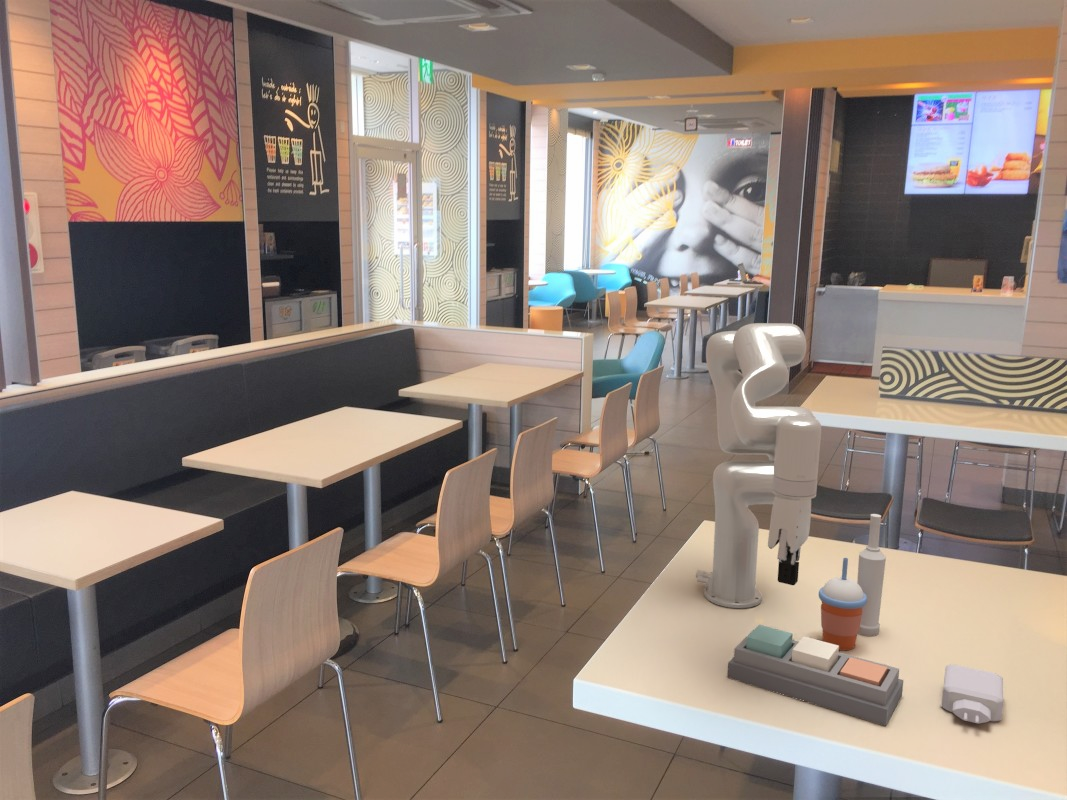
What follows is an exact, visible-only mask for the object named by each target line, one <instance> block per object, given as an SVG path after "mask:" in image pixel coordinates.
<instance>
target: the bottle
mask: <svg viewBox="0 0 1067 800" xmlns="http://www.w3.org/2000/svg"><path fill="white" fill-rule="evenodd" d="M869 519H870V520H869V530H868V531H869V532H868V544H867V545H866V547H865V549H863V550H862V551H859V553H858V564H857V565H858V568H857V569H858V570H857V581H856V583H857V584H858V585H859V586H860V587H861V589H862V591H863V593H864V594H865V595H866V597H867V603H866V605H865V606H863V607H862V611H863V613H862V618H861V623H860V629H859V633H858V634H857V635H861V636H865V637H866V636H867V637H874V636H877V635H879V631H880V628H881V627H880V626H881V624H880V612H881V605H882V604H881V603H882V595H883V587H884V580H885V579H884V577H885V576H884V575H885V570H886V560H887V556H886V555H885V554H884V553H883V552H882V551H881V547H879V544H880V531H881V524H882V523H881V521H882V515H880V514H878V513H870V518H869Z"/></svg>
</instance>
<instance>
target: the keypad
mask: <svg viewBox="0 0 1067 800" xmlns="http://www.w3.org/2000/svg"><path fill="white" fill-rule="evenodd" d="M798 643H799V641H798V640H796V639H795V640H794V639H792V648H791V649H790V650H789V651H788V652H787V654H786V655H785V656H784V657H783V658H782V659H781V658H777V657H774V656H770V655H767V654H763V653H759V652H756V651H752V650H749V649H746V645H747V636H745V637H744V638H743V640H741V641H740V643H739V644H737V645H736V646H735V648H734V649H733V650H734V651H733V652H734V653H733V656H732V658H731V659H730V660H729V661H728V662H727V672H726V674H727V676H726V678H727V677H728V678H727V679H731V680H733V679H734V681H737V682H741V683H743V682H744V683H743V684H747V685H751V686H753V687H755V688H760V689H764V690H766V689H767V690H766V691H769V690H770V691H769V692H773V691H774V693H776V692H778V693H777V694H779V693H781V694H780V695H782V694H784V695H783V696H786V695H787V697H789V696H790V697H789V698H792V697H794V698H793V699H795V698H797V699H796V700H799V699H801V700H800V701H802V700H804V701H803V702H805V701H807V702H806V703H808V702H809V703H808V704H811V705H815V704H816V705H815V706H818V705H819V707H821V706H823V707H822V708H825V707H826V708H825V709H828V708H829V709H828V710H831V709H833V710H832V711H835V710H836V712H838V711H839V712H838V713H841V712H842V713H841V714H844V713H845V715H848V716H850V717H854V718H857V717H858V718H857V719H862V720H864V721H867V720H868V722H870V721H871V723H875V724H877V725H881V726H884V727H886V726H887V724H888V723H889V720H890V718H891V717H892V715H893V713H894V711H895V710H896V708H897V706H898V705H899V702H900V700H901V699H902V696H903V691H904V689H903V688H904V679H900V678H899V677H900V676H899V675H900V668H899V667H894V666H891V665H887V664H885V663H880V662H876V661H872V660H869V659H865V658H861V657H858V656H853V655H850V654H846V653H842V652H839V653H838V662H837V663H836V664H835V666H834V667H833V668H832V670H831V671H830V672H826V671H823V670H819V669H816V668H812V667H809V666H805V665H802V664H798V663H795V662H792V650H793V648H794V647H795V646H796V645H797V644H798ZM850 657H852V658H855V659H859V660H863V661H867V662H870V663H874V664H878V665H881V666H885V667H888V668H887V676H886V678H885V680H884V682H883V683H882V685H881V687H879V686H876V685H872V684H869V683H865V682H862V681H858V680H855V679H851V678H848V677H844V676H841V675H840V671H841V670H842V668H843V667H844V665H845V664H846V662H847V661H848V660H849V658H850Z"/></svg>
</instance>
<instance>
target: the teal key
mask: <svg viewBox="0 0 1067 800" xmlns="http://www.w3.org/2000/svg"><path fill="white" fill-rule="evenodd" d="M793 635H794V634H793V633H792V632H789V631H786V630H781V629H778V628H774V627H771V626H766V625H761V624H759V625H758V626H756V627H755V628H754V629H752V631H750V632H749V633H748V634H747V635H746V637H747V645H746V649H749V650H752V651H756V652H759V653H763V654H767V655H770V656H774V657H777V658H781V659H782V658H783V657H784V656H785V655H786V654H787V652H788V651H789V650H790V649H791V648H792V640H793Z"/></svg>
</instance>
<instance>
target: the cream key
mask: <svg viewBox="0 0 1067 800" xmlns="http://www.w3.org/2000/svg"><path fill="white" fill-rule="evenodd" d="M798 642H799V643H798V644H797V645H796V646H795V647H794V648H793V650H792V662H795V663H798V664H802V665H805V666H809V667H812V668H816V669H819V670H823V671H826V672H830V671H831V670H832V668H833V667H834V666H835V664H836V663H837V662H838V653H840V650H839V646H838V645H835V644H831V643H827V642H823V640H819V639H815V638H812V637H807V636H802V638H801V639H799V641H798Z"/></svg>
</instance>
